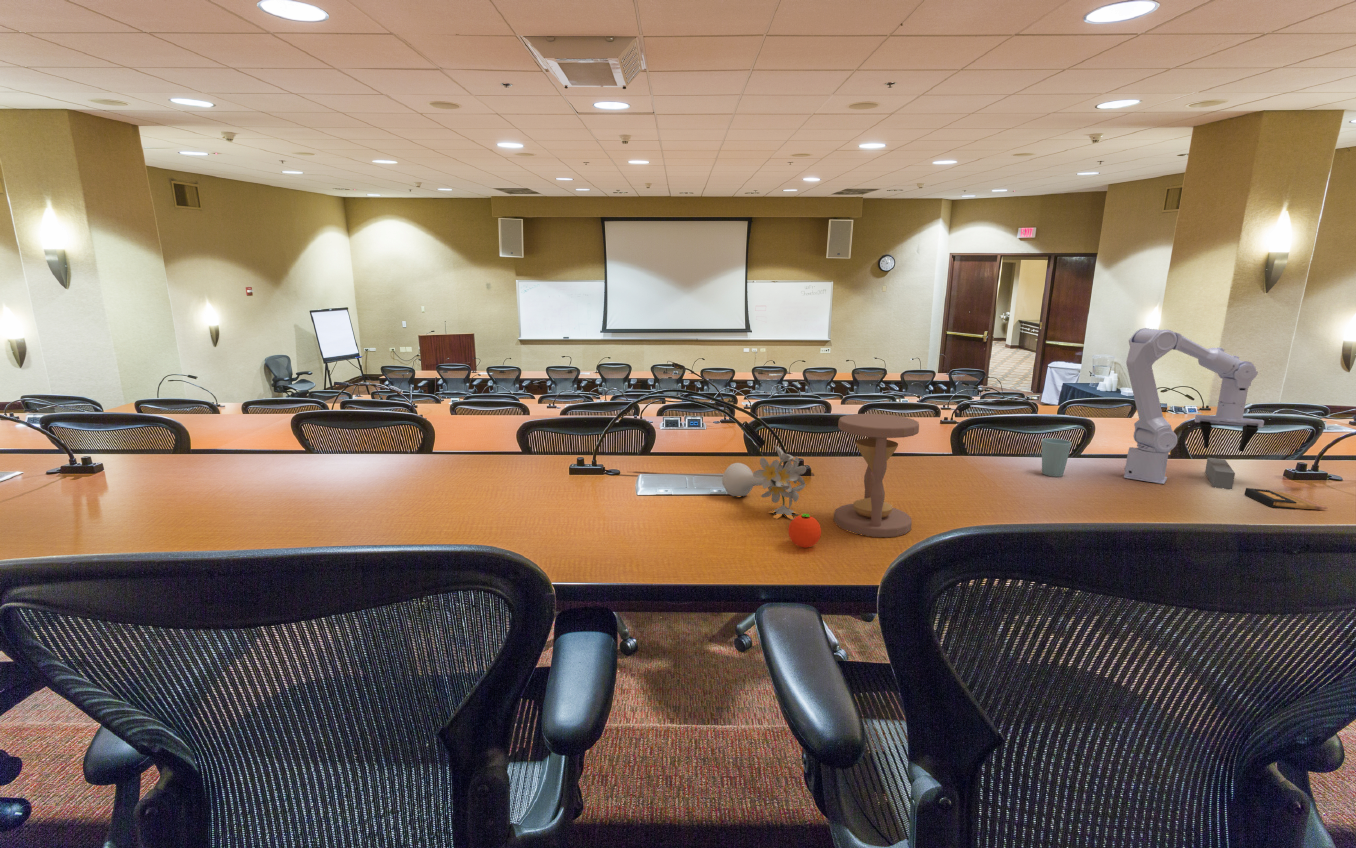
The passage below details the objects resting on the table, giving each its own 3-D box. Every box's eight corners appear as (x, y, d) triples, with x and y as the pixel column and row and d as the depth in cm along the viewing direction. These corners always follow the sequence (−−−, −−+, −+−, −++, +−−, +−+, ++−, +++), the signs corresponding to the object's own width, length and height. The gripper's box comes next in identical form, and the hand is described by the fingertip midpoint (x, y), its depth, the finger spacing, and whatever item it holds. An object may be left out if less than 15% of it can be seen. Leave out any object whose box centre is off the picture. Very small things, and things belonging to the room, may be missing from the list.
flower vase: (724, 522, 162) (787, 527, 141) (704, 458, 161) (764, 452, 139) (759, 504, 169) (824, 506, 148) (740, 442, 168) (803, 435, 146)
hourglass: (839, 507, 153) (844, 411, 148) (912, 516, 147) (920, 416, 142) (828, 531, 137) (833, 424, 132) (909, 542, 131) (918, 430, 126)
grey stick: (1212, 488, 169) (1215, 471, 168) (1204, 473, 183) (1207, 457, 182) (1231, 490, 167) (1235, 473, 166) (1222, 475, 181) (1225, 459, 180)
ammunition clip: (1271, 507, 152) (1329, 512, 149) (1273, 500, 151) (1331, 505, 148) (1244, 494, 162) (1298, 499, 159) (1245, 487, 161) (1299, 492, 159)
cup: (1056, 470, 186) (1060, 437, 184) (1073, 477, 178) (1077, 443, 176) (1032, 471, 186) (1036, 438, 183) (1048, 478, 178) (1052, 444, 176)
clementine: (790, 536, 134) (791, 506, 133) (821, 540, 132) (823, 509, 131) (785, 550, 127) (787, 519, 125) (819, 554, 125) (820, 522, 123)
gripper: (1200, 402, 171) (1192, 448, 174) (1270, 407, 163) (1260, 455, 166) (1196, 399, 177) (1189, 443, 180) (1264, 403, 169) (1254, 450, 172)
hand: (1223, 449), depth 173 cm, fingers open, 7 cm apart
